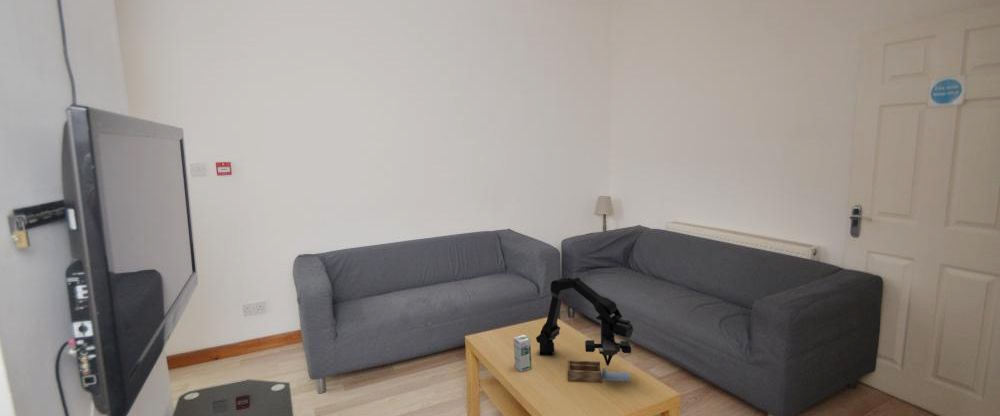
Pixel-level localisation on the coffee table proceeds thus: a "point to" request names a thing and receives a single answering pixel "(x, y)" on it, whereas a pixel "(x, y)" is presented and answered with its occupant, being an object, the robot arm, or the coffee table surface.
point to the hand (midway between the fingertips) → (607, 365)
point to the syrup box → (522, 353)
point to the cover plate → (615, 376)
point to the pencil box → (584, 371)
